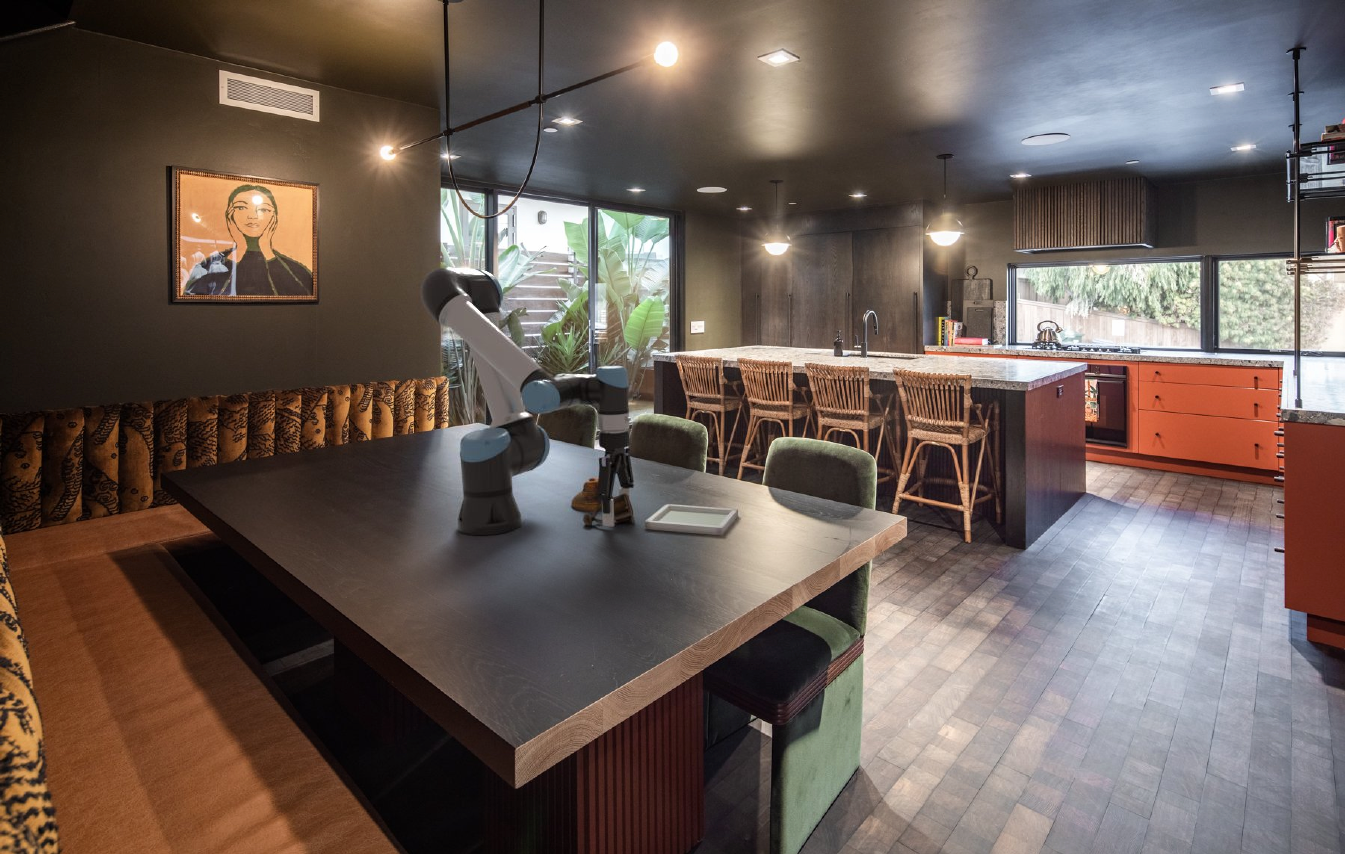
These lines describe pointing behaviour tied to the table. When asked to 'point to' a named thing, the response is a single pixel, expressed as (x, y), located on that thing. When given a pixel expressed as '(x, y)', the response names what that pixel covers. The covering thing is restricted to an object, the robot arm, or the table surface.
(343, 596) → the table surface
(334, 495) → the table surface
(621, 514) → the brown piece
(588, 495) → the bell
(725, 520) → the tray
